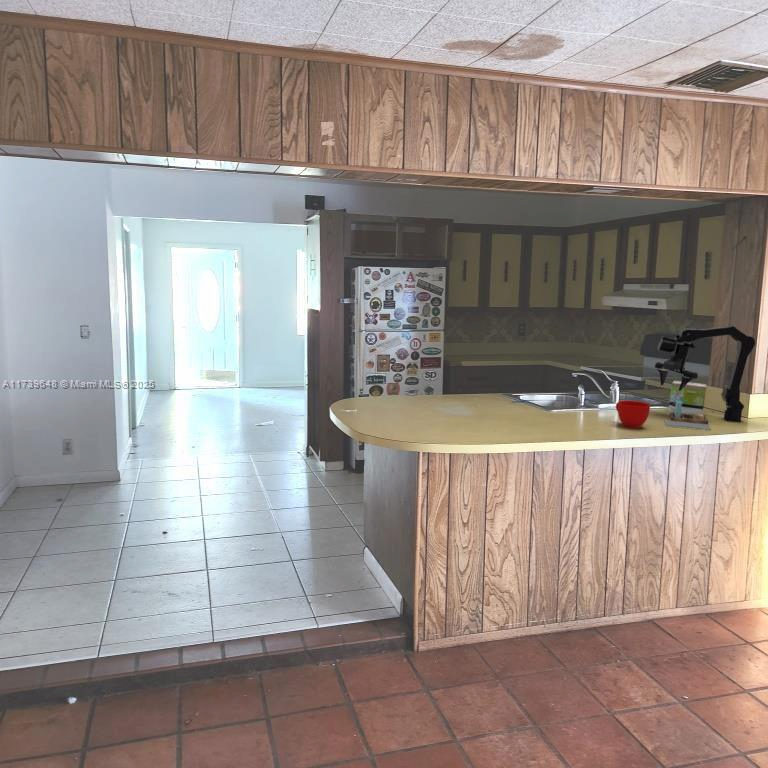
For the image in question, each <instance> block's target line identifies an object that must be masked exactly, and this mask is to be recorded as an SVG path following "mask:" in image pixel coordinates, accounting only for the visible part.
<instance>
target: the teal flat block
mask: <svg viewBox="0 0 768 768" xmlns="http://www.w3.org/2000/svg"><path fill="white" fill-rule="evenodd" d="M681 406H682V402H681V400H676V405H675V412H674V413H675V414H674V417H675V418H680V415H681V414H682V413H681Z"/></svg>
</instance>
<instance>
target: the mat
mask: <svg viewBox="0 0 768 768" xmlns="http://www.w3.org/2000/svg"><path fill="white" fill-rule="evenodd" d="M663 422H664V426H667V428H670V427H674V428H677V429H680V428H686V430H689V429H695V430H696V431H699V430H705V431H704V432H706V431H707V432H708V431H711V430H712V428H711V427H710V425H709V424H698V423H689V422H679V421H671V420H663Z"/></svg>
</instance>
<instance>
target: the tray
mask: <svg viewBox="0 0 768 768" xmlns="http://www.w3.org/2000/svg"><path fill="white" fill-rule="evenodd" d="M674 414H675V412H669V418H670V421H676V422H686V423H696V424H705V425H709V420H708V418H707V417H706V416H705V415H703V416H704V417H703V419H704V420H695V419H692V418H693V416H694V415H693V414H685V413H681V415H680V418H675V417H674Z"/></svg>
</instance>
